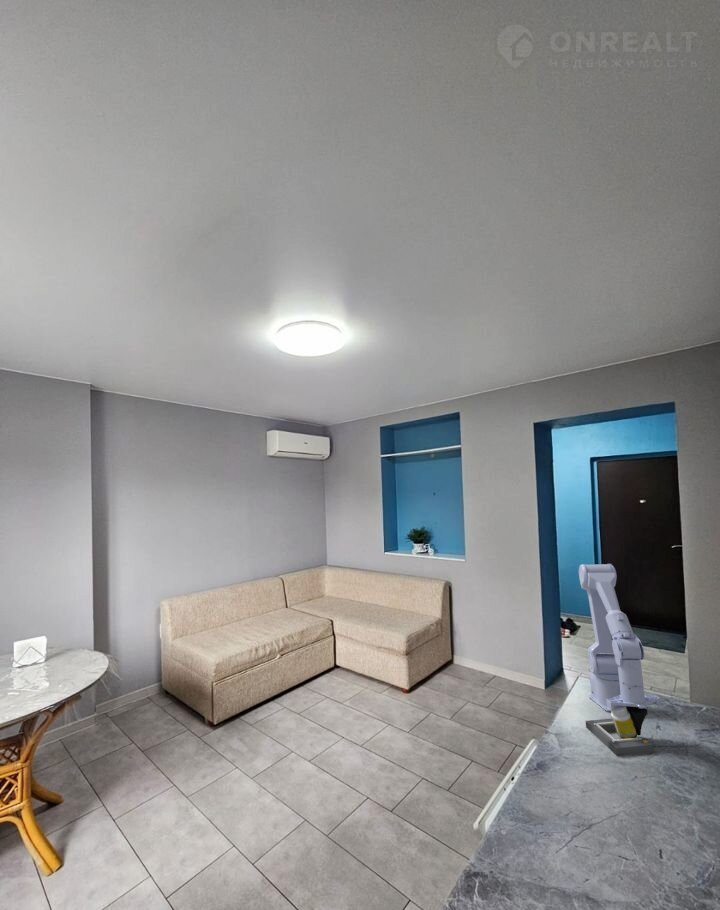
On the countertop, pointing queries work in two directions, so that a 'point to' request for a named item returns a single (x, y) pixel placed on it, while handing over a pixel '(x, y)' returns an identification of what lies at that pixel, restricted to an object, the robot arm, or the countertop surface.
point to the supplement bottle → (623, 723)
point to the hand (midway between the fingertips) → (636, 733)
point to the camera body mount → (619, 745)
